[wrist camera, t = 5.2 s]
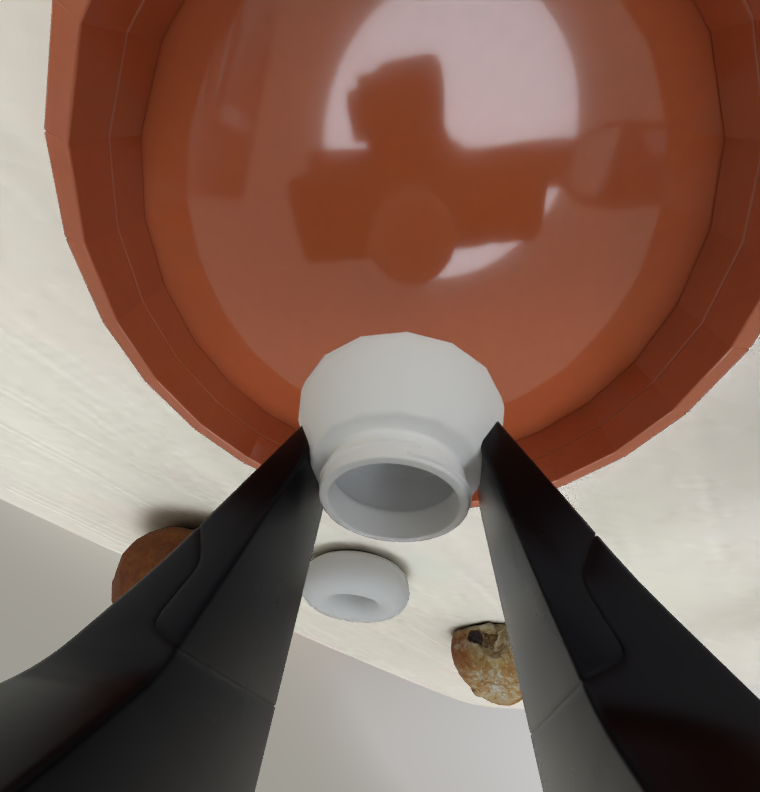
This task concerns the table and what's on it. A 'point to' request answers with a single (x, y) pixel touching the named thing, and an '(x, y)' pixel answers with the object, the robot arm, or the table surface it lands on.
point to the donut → (356, 586)
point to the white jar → (398, 434)
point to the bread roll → (487, 662)
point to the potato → (145, 557)
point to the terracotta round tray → (417, 200)
